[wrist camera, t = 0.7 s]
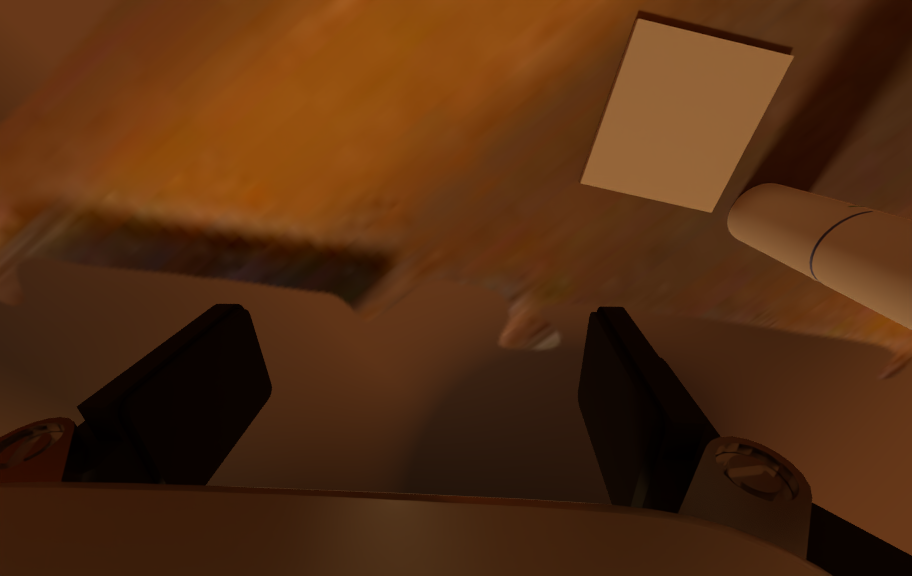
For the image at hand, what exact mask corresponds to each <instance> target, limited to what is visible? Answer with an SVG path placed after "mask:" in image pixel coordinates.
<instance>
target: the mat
mask: <svg viewBox="0 0 912 576" xmlns="http://www.w3.org/2000/svg"><path fill="white" fill-rule="evenodd" d="M793 57H794V56H790V55H786V54H782V53H778V52H774V51H770V50H766V49H762V48H758V47H754V46H749V45H745V44H741V43H737V42H733V41H729V40H725V39H721V38H717V37H713V36H708V35H704V34H700V33H696V32H692V31H688V30H684V29H680V28H676V27H672V26H668V25H663V24H659V23H655V22H651V21H647V20H643V19H639V18H638V19H636V20H635V22H634V25H633V28H632V31H631V34H630V36H629V39H628V42H627V45H626V48H625V51H624V54H623V57H622V59H621V62H620V65H619V68H618V71H617V74H616V77H615V79H614V82H613V85H612V88H611V91H610V94H609V97H608V100H607V102H606V105H605V108H604V111H603V114H602V117H601V120H600V122H599V125H598V128H597V131H596V134H595V137H594V140H593V143H592V145H591V148H590V151H589V154H588V157H587V160H586V163H585V165H584V168H583V171H582V174H581V177H580V180H579V182H580V183H582V184H586V185H591V186H595V187H600V188H604V189H608V190H613V191H617V192H622V193H626V194H631V195H635V196H640V197H644V198H648V199H653V200H657V201H662V202H666V203H671V204H675V205H680V206H684V207H688V208H693V209H697V210H702V211H706V212H711V213H712V211H713V209H714V207H715V205H716V203H717V201H718V200H719V198H720V196H721V194H722V192H723V190H724V188H725V186H726V184H727V182H728V181H729V179H730V177H731V175H732V173H733V171H734V169H735V167H736V165H737V163H738V162H739V160H740V158H741V156H742V154H743V152H744V150H745V148H746V146H747V145H748V143H749V141H750V139H751V137H752V135H753V133H754V131H755V129H756V127H757V126H758V124H759V122H760V120H761V118H762V116H763V114H764V112H765V110H766V108H767V107H768V105H769V103H770V101H771V99H772V97H773V95H774V93H775V91H776V90H777V88H778V86H779V84H780V82H781V80H782V78H783V76H784V74H785V72H786V71H787V69H788V67H789V65H790V63H791V61H792V59H793Z"/></svg>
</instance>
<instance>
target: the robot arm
mask: <svg viewBox="0 0 912 576" xmlns="http://www.w3.org/2000/svg"><path fill="white" fill-rule="evenodd" d="M271 391H272V386H271V382H270V378H269V375H268V372H267V369H266V365H265V362H264V359H263V355H262V352H261V349H260V346H259V342H258V339H257V336H256V332H255V329H254V326H253V323H252V319H251V316H250V314H249V312H248V311H247V310H246V309H244V308H243V307H242V306H241V305H239V304H216V305H214V306H213V307H211V308H210V309H208V310H207V311H206V312H204V313H203V314H202V315H200V316H199V317H198V318H196V319H195V320H194V321H192V322H191V323H189V324H188V325H187V326H185V327H184V328H183V329H181V330H180V331H179V332H177V333H176V334H175V335H173V336H172V337H170V338H169V339H168V340H166V341H165V342H164V343H162V344H161V345H160V346H158V347H157V348H156V349H154V350H153V351H152V352H150V353H149V354H147V355H146V356H145V357H144V358H142V359H141V360H139V361H138V362H137V363H135V364H134V365H133V366H131V367H130V368H129V369H127V370H126V371H124V372H123V373H122V374H120V375H119V376H118V377H116V378H115V379H114V380H112V381H111V382H110V383H108V384H107V385H105V386H104V387H103V388H101V389H100V390H99V391H97V392H96V393H95V394H93V395H92V396H91V397H89V398H88V399H86V400H85V401H84V402H82V403H81V404H80V405H78V406H77V408H78V409H79V411H80V413H81V414H82V416H83V418H84V419H85V421H84V422H83V423H82V424H80V425H79V426H78V427H77V426H76V424H75V423H74V421H72V420H71V419H69V418H63V417H57V418H48V419H44V420H41V421H37V422H33V423H31V424H28V425H25V426H23V427H20V428H18V429H15V430H14V431H11V432H9V433H8V434H6V435H4V436H2V437H0V576H912V556H911V555H909V554H907V553H906V552H903V551H902V550H900V549H898V548H896V547H894V546H892V545H891V544H889V543H887V542H885V541H883V540H881V539H879V538H878V537H875V536H874V535H872V534H870V533H868V532H866V531H864V530H863V529H861V528H859V527H857V526H855V525H853V524H851V523H849V522H848V521H845V520H844V519H842V518H840V517H838V516H836V515H834V514H833V513H831V512H829V511H827V510H825V509H823V508H821V507H820V506H817V505H816V504H814V503H812V494H811V488H810V485H809V484H808V482H807V480H806V479H805V477H804V475H803V474H802V473H801V472H800V471H799V470H798V469H797V468H796V467H795V466H794V465H793V464H792V463H791V462H790V461H788V460H787V459H786V458H784V457H783V456H781V455H780V454H779V453H777V452H775V451H773V450H772V449H770V448H768V447H766V446H764V445H762V444H759V443H757V442H754V441H751V440H748V439H744V438H739V437H733V436H729V437H720V435H719V434H718V433H717V431H716V430H715V428H714V427H713V426H712V424H711V423H710V422H709V420H708V419H707V417H706V416H705V415H704V413H703V412H702V411H701V409H700V408H699V407H698V405H697V404H696V402H695V401H694V400H693V399H692V397H691V396H690V394H689V393H688V392H687V390H686V389H685V387H684V386H683V385H682V383H681V382H680V381H679V379H678V378H677V376H676V375H675V374H674V372H673V371H672V370H671V368H670V367H669V365H668V364H667V363H666V362H665V361H664V360H663V359H662V358H660V357H659V356H658V355H657V353H656V352H655V351H654V349H653V348H652V346H651V345H650V344H649V342H648V341H647V340H646V338H645V337H644V335H643V334H642V333H641V331H640V330H639V328H638V327H637V326H636V324H635V323H634V321H633V320H632V319H631V317H630V316H629V314H628V313H627V312H626V310H625V309H624V308H623V307H599V308H598V310H597V312H591V314H590V317H589V324H588V330H587V336H586V343H585V349H584V356H583V363H582V369H581V375H580V382H579V389H578V402H579V407H580V410H581V412H582V416H583V419H584V422H585V425H586V428H587V431H588V434H589V437H590V440H591V443H592V446H593V449H594V452H595V455H596V458H597V461H598V464H599V467H600V470H601V473H602V476H603V479H604V482H605V485H606V488H607V491H608V494H609V497H610V500H611V503H612V505H607V504H595V503H579V502H561V501H547V500H531V499H514V498H492V497H491V498H490V497H469V496H449V495H427V494H405V493H382V492H356V491H334V490H310V489H308V490H307V489H284V488H259V487H258V488H257V487H231V486H205V485H206V484H207V483H208V481H209V480H210V478H211V477H212V476H213V474H214V473H215V471H216V470H217V469H218V468H219V466H220V465H221V463H222V462H223V461H224V459H225V458H226V457H227V455H228V454H229V452H230V451H231V450H232V448H233V447H234V446H235V444H236V443H237V441H238V440H239V439H240V437H241V436H242V435H243V433H244V432H245V430H246V429H247V428H248V426H249V425H250V424H251V422H252V421H253V419H254V418H255V417H256V415H257V414H258V413H259V411H260V410H261V409H262V407H263V406H264V405H265V403H266V402H267V400H268V399H269V397H270V395H271Z"/></svg>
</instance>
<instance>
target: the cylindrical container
mask: <svg viewBox="0 0 912 576" xmlns="http://www.w3.org/2000/svg"><path fill="white" fill-rule="evenodd" d="M727 224H728V229H729V231H730V233H731V234H732V235H733V236H734V237H735V238H736V239H738V240H740V241H742V242H744V243H746V244H748V245H750V246H751V247H753V248H755V249H757V250H759V251H761V252H763V253H765V254H767V255H769V256H771V257H773V258H775V259H777V260H779V261H780V262H782V263H784V264H786V265H788V266H790V267H792V268H794V269H796V270H797V271H799V272H801V273H803V274H805V275H807V276H809V277H811V278H813V279H815V280H816V281H818V282H820V283H822V284H824V285H826V286H828V287H830V288H832V289H834V290H836V291H838V292H839V293H841V294H843V295H845V296H847V297H849V298H851V299H853V300H855V301H857V302H859V303H861V304H863V305H865V306H866V307H868V308H870V309H872V310H874V311H876V312H878V313H880V314H882V315H884V316H886V317H888V318H890V319H892V320H894V321H895V322H897V323H899V324H901V325H903V326H905V327H907V328H909V329H911V330H912V219H908V218H904V217H901V216H897V215H893V214H889V213H885V212H882V211H878V210H874V209H870V208H867V207H863V206H859V205H855V204H852V203H848V202H844V201H840V200H837V199H833V198H829V197H825V196H822V195H818V194H814V193H810V192H807V191H803V190H799V189H795V188H792V187H788V186H784V185H780V184H775V183H765V184H761V185H758V186H755V187H753V188H751V189H749V190H747V191H746V192H745V193H743V194H742V195H741V196H740V197H739V198H738V199H737V200H736V201H735V203H734V204H733V206H732V207H731V209H730V212H729V215H728V221H727Z"/></svg>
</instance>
